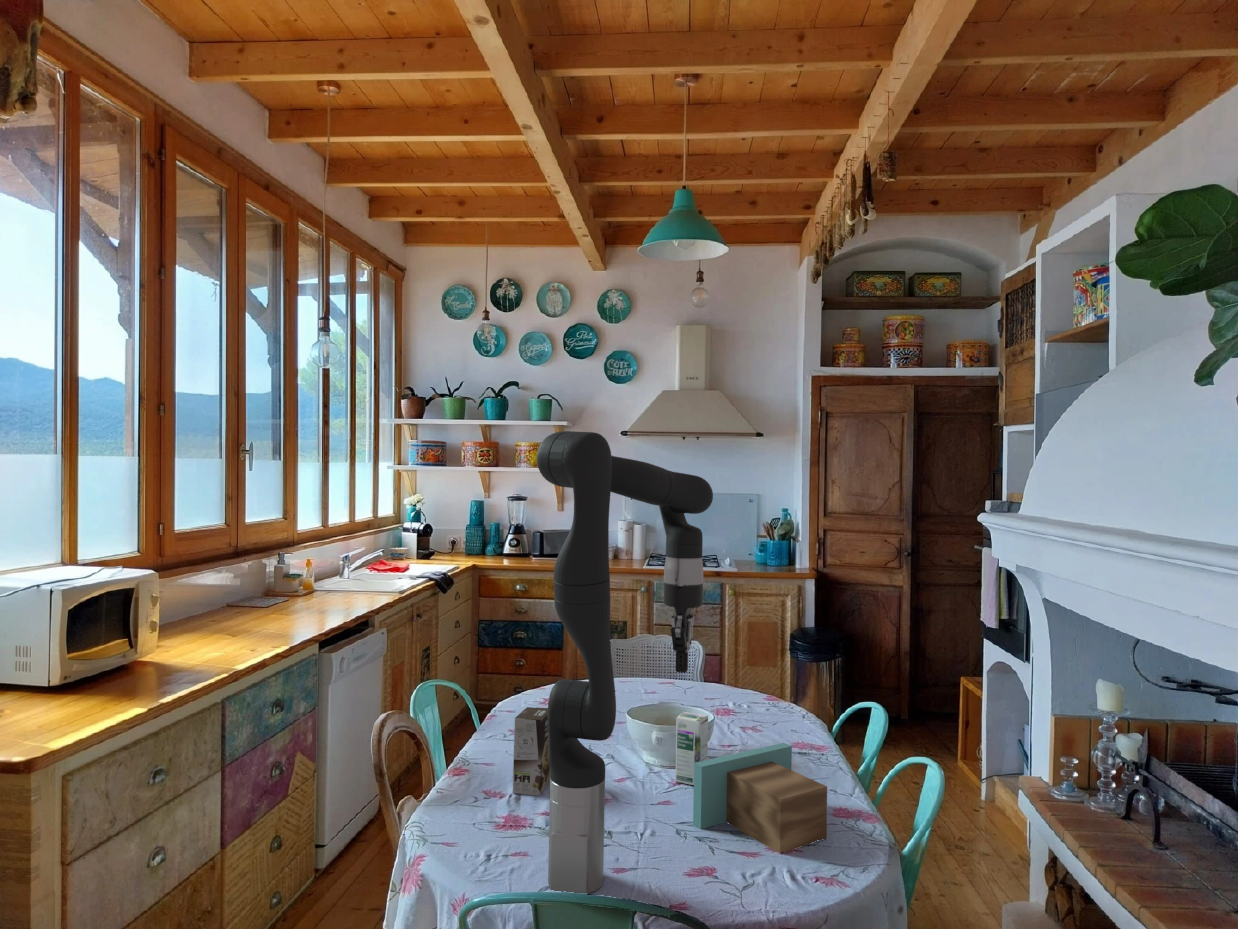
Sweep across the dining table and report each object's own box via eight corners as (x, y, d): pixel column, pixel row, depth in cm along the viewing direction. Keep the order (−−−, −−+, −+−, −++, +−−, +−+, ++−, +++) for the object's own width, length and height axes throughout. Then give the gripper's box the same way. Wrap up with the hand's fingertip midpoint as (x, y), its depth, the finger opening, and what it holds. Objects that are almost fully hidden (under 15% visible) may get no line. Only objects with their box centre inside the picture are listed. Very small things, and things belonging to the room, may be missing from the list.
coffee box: (540, 796, 164) (542, 720, 164) (511, 793, 165) (513, 717, 166) (552, 780, 173) (554, 707, 173) (525, 777, 174) (526, 705, 175)
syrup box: (674, 782, 173) (675, 717, 174) (684, 773, 179) (685, 710, 179) (698, 787, 171) (699, 721, 171) (707, 778, 176) (708, 714, 176)
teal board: (790, 803, 163) (791, 746, 163) (700, 829, 150) (701, 766, 150) (782, 799, 165) (783, 742, 165) (693, 824, 152) (694, 762, 152)
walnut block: (826, 839, 147) (827, 786, 147) (779, 855, 141) (780, 799, 141) (771, 810, 160) (772, 761, 160) (726, 823, 154) (727, 772, 154)
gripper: (669, 576, 156) (668, 662, 156) (658, 583, 143) (656, 678, 143) (707, 577, 155) (705, 665, 154) (698, 586, 142) (696, 681, 141)
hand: (681, 671), depth 149 cm, fingers closed
